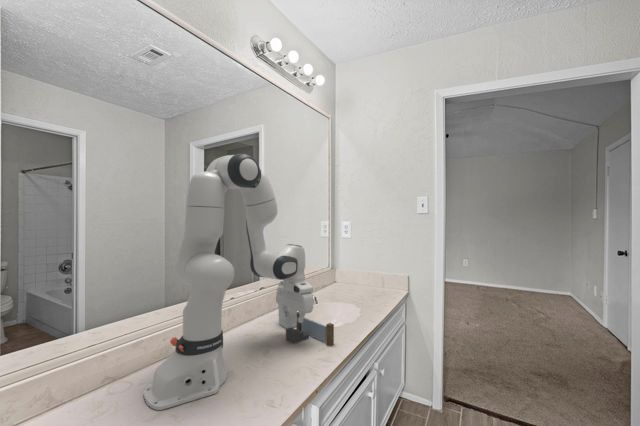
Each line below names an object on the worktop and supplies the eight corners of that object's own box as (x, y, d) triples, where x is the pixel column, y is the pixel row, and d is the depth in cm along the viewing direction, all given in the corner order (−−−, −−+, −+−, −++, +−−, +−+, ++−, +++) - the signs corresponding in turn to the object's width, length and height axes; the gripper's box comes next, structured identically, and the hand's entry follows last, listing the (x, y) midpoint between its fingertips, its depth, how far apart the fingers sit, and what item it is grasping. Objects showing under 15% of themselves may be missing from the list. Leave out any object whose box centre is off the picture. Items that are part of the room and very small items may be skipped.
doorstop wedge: (293, 344, 116) (293, 332, 116) (285, 340, 119) (285, 328, 120) (309, 338, 121) (308, 327, 121) (301, 335, 125) (301, 323, 125)
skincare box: (297, 326, 134) (297, 293, 134) (285, 329, 130) (285, 295, 130) (289, 321, 141) (289, 289, 141) (277, 323, 137) (277, 291, 137)
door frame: (330, 346, 114) (330, 325, 114) (296, 330, 129) (296, 312, 129) (333, 344, 115) (333, 324, 115) (300, 329, 130) (300, 311, 130)
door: (325, 341, 116) (325, 326, 116) (301, 331, 128) (301, 317, 128) (328, 340, 118) (328, 325, 118) (304, 329, 129) (304, 316, 129)
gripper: (272, 281, 125) (271, 314, 124) (303, 290, 110) (302, 327, 109) (285, 279, 129) (284, 311, 129) (316, 287, 114) (315, 324, 114)
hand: (292, 319), depth 119 cm, fingers open, 8 cm apart
